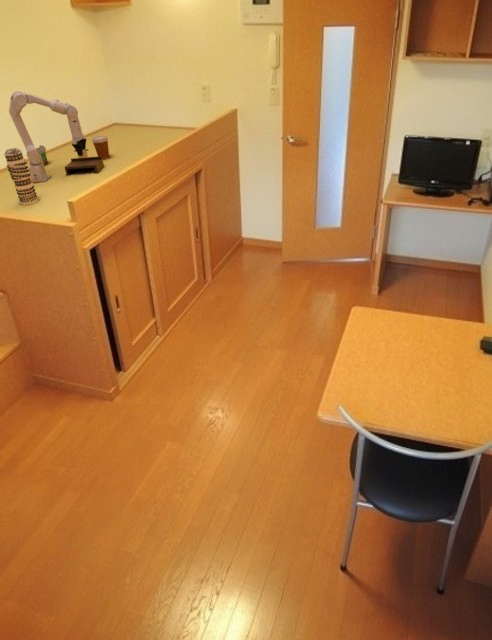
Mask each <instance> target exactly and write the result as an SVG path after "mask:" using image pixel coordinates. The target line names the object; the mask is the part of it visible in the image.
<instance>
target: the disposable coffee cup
mask: <svg viewBox="0 0 492 640" xmlns="http://www.w3.org/2000/svg"><path fill="white" fill-rule="evenodd" d="M91 142H92V144H93V147H94V149H95V152H96V155H97V157H99V156H102V159H103V160H107V159H109V158H110V150H109V149H110V148H109V138H108V136H106V135H98V136H94V137H92V138H91Z"/></svg>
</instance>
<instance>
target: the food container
mask: <svg viewBox="0 0 492 640" xmlns="http://www.w3.org/2000/svg"><path fill="white" fill-rule="evenodd" d="M38 146H39V147H35V148H36V150H37V151H38V152H39V154H40V155H41V157H42V161H43V163H44V166H45V167H46V166H47V165H48V164H49V162H48V158H47V153H46V151H47V148H46V147H45V145H43V144H42V145H41V144H40V145H38Z"/></svg>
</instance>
